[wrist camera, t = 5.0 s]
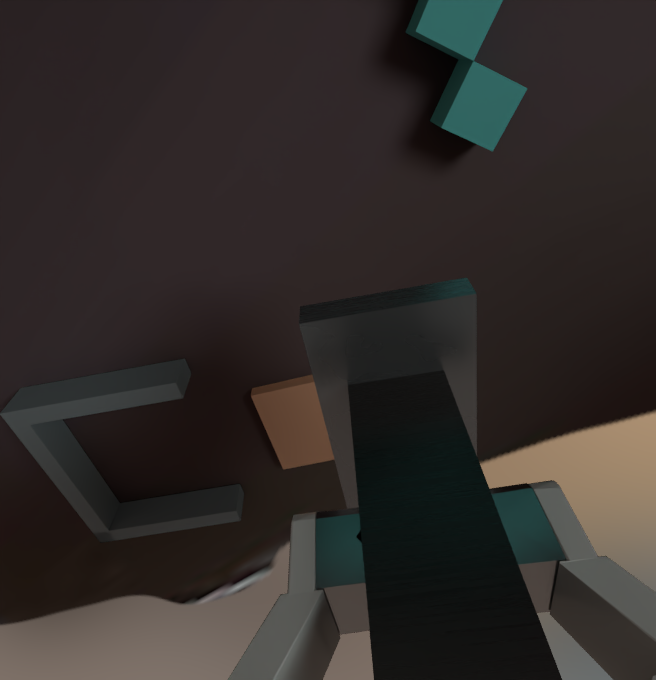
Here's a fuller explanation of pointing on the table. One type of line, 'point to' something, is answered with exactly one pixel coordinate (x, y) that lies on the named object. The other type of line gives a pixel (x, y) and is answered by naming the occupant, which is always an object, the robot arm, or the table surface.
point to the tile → (294, 421)
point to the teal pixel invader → (467, 69)
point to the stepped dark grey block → (422, 486)
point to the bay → (79, 472)
